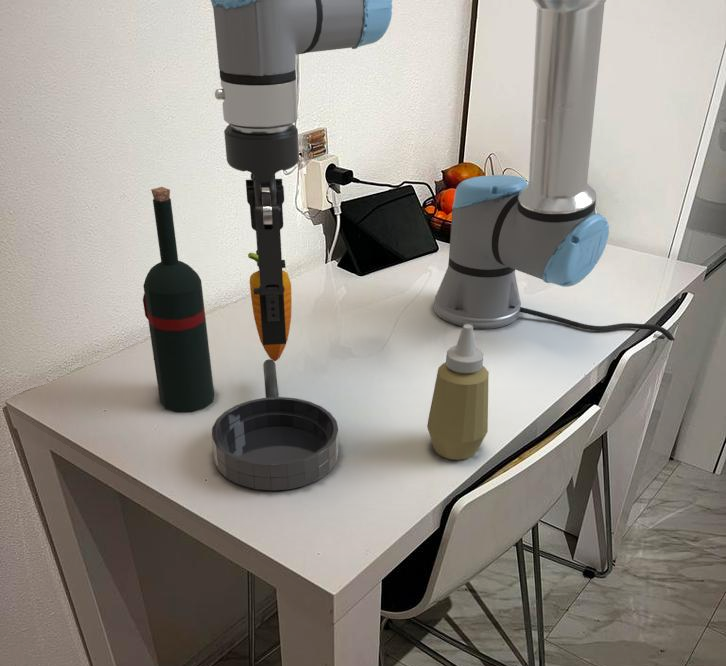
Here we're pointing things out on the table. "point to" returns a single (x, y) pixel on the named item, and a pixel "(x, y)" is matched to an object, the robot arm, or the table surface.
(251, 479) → the pan
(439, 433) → the squeeze bottle
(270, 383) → the pan handle
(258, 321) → the carrot
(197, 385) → the wine bottle
